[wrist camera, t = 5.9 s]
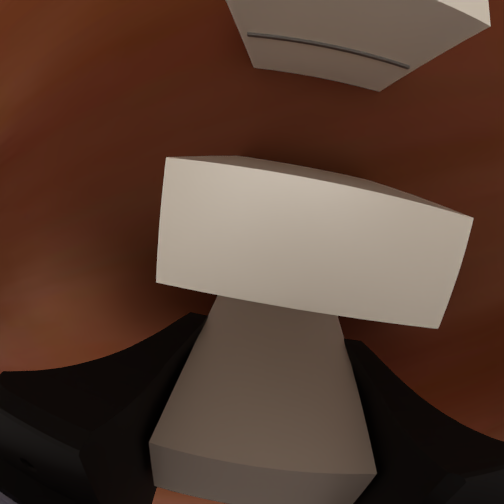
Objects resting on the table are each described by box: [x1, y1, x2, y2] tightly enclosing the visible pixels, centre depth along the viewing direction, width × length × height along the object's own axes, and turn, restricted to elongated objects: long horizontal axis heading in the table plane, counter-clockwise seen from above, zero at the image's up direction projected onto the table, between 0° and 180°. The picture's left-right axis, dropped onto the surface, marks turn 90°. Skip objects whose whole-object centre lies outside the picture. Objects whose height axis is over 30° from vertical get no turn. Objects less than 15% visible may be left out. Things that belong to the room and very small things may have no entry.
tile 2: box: [156, 156, 474, 329], centre depth 8 cm, size 2×4×7 cm, turn 81°
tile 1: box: [226, 0, 490, 92], centre depth 6 cm, size 2×4×7 cm, turn 81°
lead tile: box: [149, 295, 377, 504], centre depth 9 cm, size 2×4×7 cm, turn 81°
